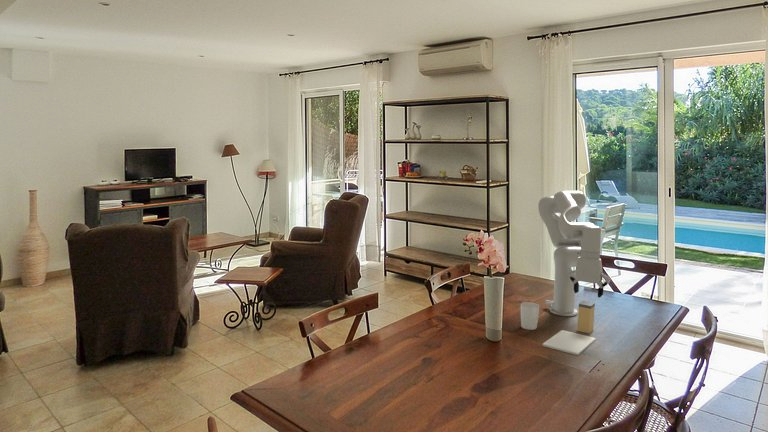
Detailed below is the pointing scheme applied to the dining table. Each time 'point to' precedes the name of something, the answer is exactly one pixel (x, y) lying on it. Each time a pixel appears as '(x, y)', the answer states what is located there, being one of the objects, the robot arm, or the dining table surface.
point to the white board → (569, 342)
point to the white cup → (529, 315)
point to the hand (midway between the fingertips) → (587, 294)
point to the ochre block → (585, 317)
